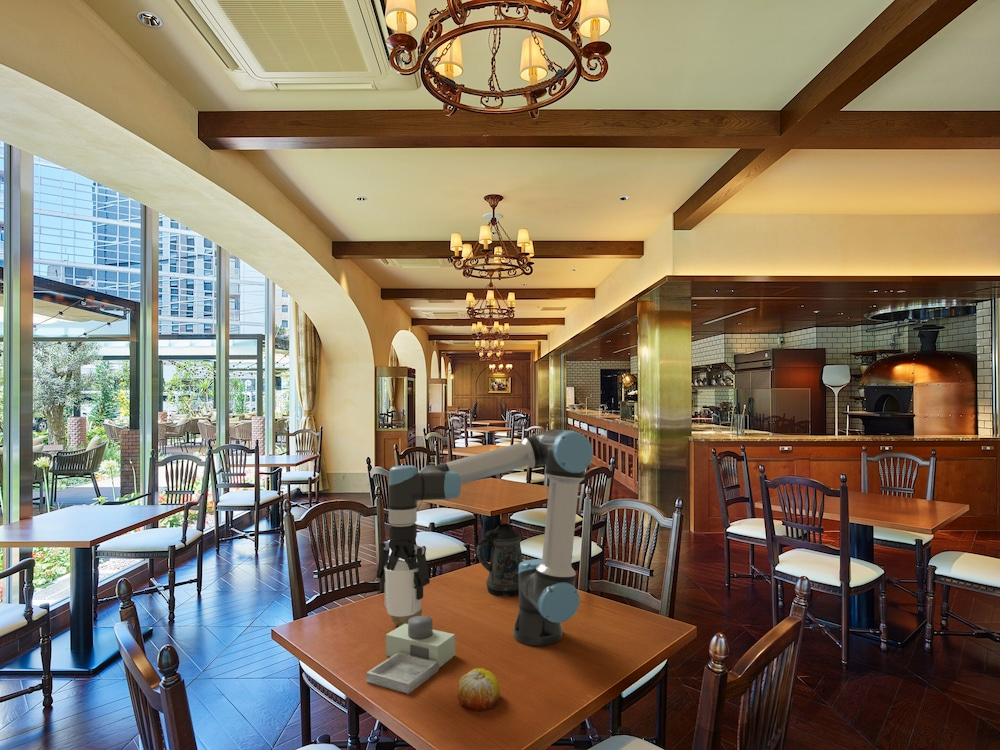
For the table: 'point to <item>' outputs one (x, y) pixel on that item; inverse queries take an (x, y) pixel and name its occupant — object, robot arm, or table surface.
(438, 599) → the table surface
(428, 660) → the gray square tray
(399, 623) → the stone disc
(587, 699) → the table surface
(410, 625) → the push-button box
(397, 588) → the candle holder
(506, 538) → the beer stein
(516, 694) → the table surface
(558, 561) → the robot arm
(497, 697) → the fruit
